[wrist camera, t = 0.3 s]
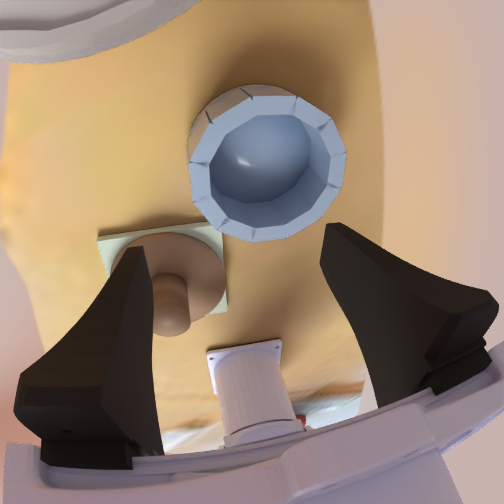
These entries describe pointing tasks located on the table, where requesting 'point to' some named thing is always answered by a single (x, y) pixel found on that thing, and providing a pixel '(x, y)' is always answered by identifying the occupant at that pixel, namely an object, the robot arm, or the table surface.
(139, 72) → the table surface
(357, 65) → the table surface
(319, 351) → the table surface
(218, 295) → the lid
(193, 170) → the bowl
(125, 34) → the disposable coffee cup
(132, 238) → the mat
